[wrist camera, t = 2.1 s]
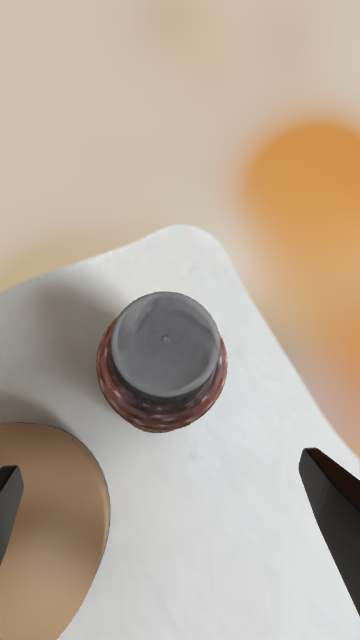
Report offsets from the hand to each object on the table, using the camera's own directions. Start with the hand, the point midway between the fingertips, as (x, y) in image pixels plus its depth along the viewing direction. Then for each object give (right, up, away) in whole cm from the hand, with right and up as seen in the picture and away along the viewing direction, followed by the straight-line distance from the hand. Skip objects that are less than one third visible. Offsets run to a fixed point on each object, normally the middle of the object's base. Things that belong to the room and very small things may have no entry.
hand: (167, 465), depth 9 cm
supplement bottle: (-1, 0, +12) cm, 12 cm away
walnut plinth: (-9, -7, +8) cm, 14 cm away
